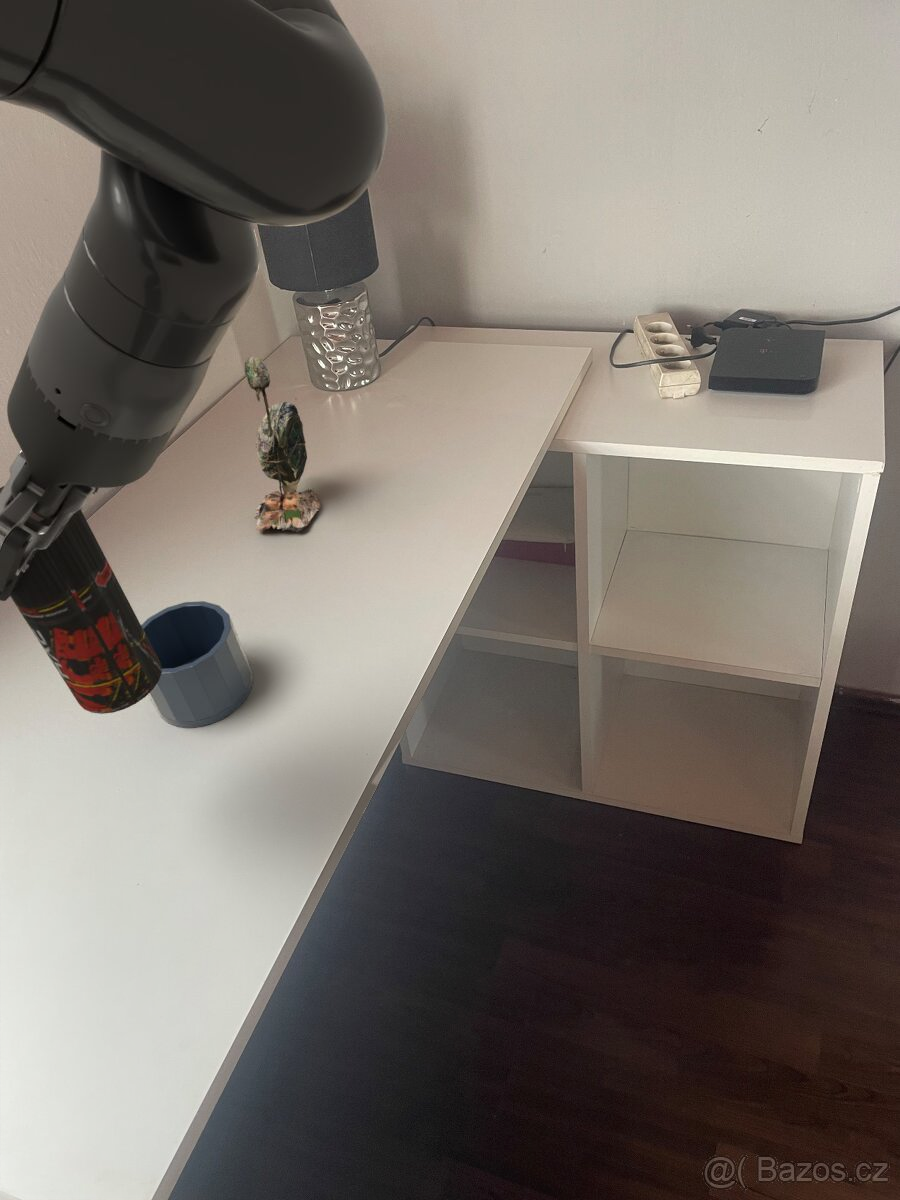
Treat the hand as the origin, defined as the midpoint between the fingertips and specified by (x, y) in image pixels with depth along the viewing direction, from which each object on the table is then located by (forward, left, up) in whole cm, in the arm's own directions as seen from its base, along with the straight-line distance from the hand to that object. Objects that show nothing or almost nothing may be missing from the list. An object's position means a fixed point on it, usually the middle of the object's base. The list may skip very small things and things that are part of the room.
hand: (23, 553), depth 53 cm
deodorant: (0, -2, -11) cm, 12 cm away
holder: (+11, +6, -26) cm, 29 cm away
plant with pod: (+38, +15, -26) cm, 49 cm away
